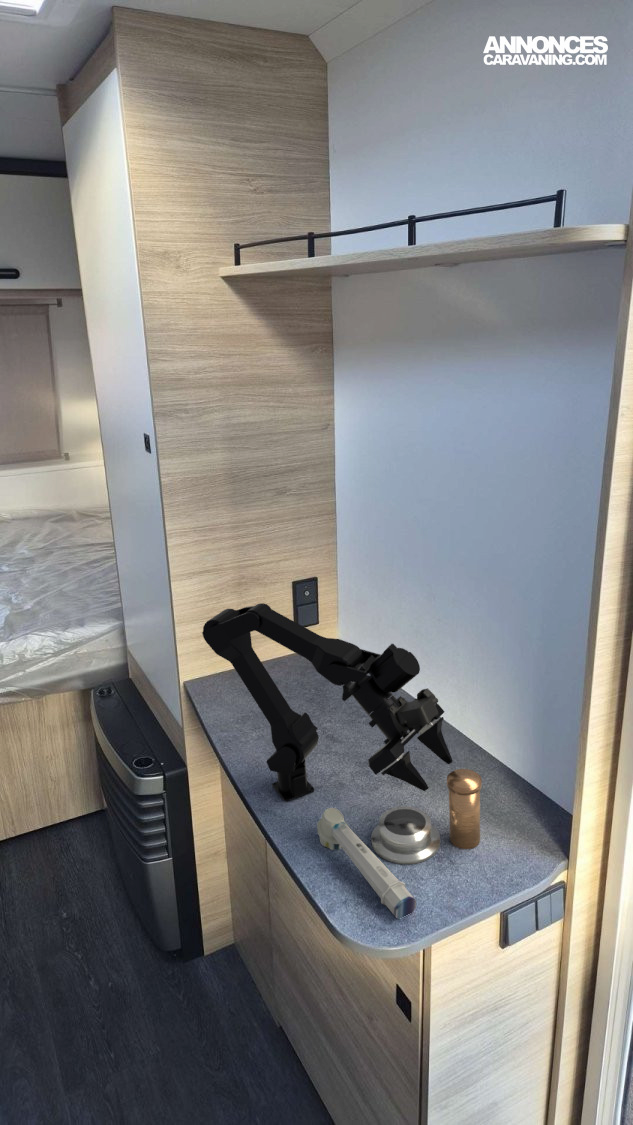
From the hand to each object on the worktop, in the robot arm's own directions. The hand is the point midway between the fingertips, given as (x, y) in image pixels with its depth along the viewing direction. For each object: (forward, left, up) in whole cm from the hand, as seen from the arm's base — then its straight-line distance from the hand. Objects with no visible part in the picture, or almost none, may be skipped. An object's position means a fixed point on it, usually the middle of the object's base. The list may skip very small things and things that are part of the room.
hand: (439, 775), depth 137 cm
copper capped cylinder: (+4, +2, -11) cm, 12 cm away
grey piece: (+2, -17, -12) cm, 21 cm away
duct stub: (-1, -7, -11) cm, 13 cm away
